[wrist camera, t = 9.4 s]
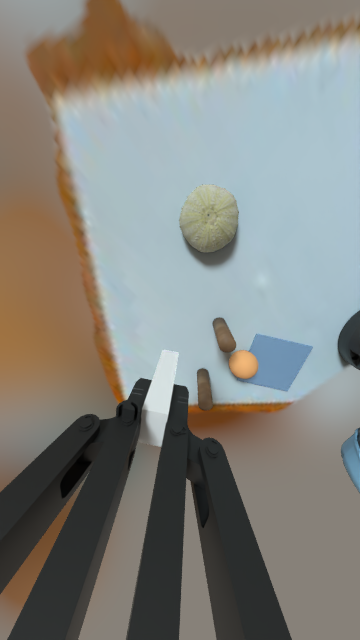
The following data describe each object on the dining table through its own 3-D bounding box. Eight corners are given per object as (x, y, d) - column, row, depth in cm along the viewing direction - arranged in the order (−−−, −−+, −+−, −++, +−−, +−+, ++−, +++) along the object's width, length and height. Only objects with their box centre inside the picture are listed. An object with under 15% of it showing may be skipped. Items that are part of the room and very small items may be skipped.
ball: (236, 342, 37) (263, 352, 35) (228, 363, 39) (253, 374, 37) (231, 352, 32) (262, 365, 31) (222, 376, 34) (251, 389, 33)
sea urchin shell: (195, 266, 30) (180, 228, 23) (184, 236, 33) (167, 195, 26) (247, 242, 28) (248, 193, 21) (229, 214, 32) (225, 163, 25)
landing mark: (312, 346, 36) (313, 347, 35) (286, 390, 40) (287, 391, 40) (256, 333, 35) (256, 334, 35) (236, 379, 40) (237, 380, 40)
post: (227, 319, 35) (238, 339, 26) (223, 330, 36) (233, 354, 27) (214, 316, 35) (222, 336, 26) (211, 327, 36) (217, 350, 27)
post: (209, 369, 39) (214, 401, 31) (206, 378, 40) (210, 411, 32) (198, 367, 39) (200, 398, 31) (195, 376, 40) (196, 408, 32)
